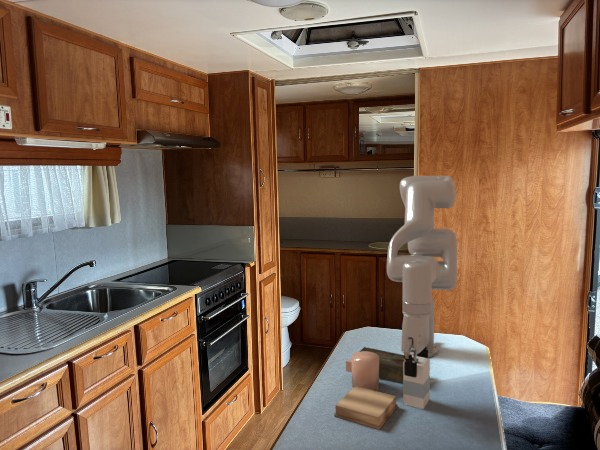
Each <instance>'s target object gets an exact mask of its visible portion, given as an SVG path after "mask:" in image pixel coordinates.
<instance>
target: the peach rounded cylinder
mask: <svg viewBox="0 0 600 450" xmlns="http://www.w3.org/2000/svg"><path fill="white" fill-rule="evenodd" d="M359 351H360V352H359ZM359 351H357V352H354V353H353V354H352V355H351V359H346V360H345V371H346V372H348V373H351V387H352V389H353V388H354V387H355V386H357V387H361V388H365V389H369V390H373V391H378V389H380V378H379V356H378V355H377V354H376V353H373V352H368V351H361V350H359Z"/></svg>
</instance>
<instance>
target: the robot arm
mask: <svg viewBox="0 0 600 450" xmlns="http://www.w3.org/2000/svg"><path fill="white" fill-rule="evenodd" d="M399 193H400V197H401V200H402V202H403V205H404V209H405V210H404V224H403V225H402V226H401V227H400V228H399V229H398V230H397V231H396V232H395V233H394V234H393V235H392V237H391V239H390V241H389V244H388V247H387V258H386V275H387V277H388V279H390V280H391V281H393V282H397V283H402V312H401V313H402V314H403V317H402V318H403V319H402V324H401V328H402V329H401V343H400V351H401V352H402V353H403V355H404V375H406V376H410V377H417V362H416V357H417V356H418V357H423V358H431V357H432V358H433V357H434V356H436V355H438V353H439V346H437V345H436V344H435V301H434V298H433V297H432V296H433V294H432V293H433V292H432V291H434V290H435V291H436V290H437V291H439V290H440V291H451V290H455V288H456V286H457V281H458V241H457V236H456V233H455V232H454V231H453V230H452V229H448V228H435V209H451V208H453V206H454V205H455V202H456V194H457V192H456V185H455V182H454V179H453V178H452V177H451V176H450V175H411V176H407V177H404V178H402V179H401V180H400V182H399ZM405 244H407V249H408V252H409V255H406V254H398V252H399V249H401V248H402V247H403V246H404V245H405ZM436 258H440V259H442V261H438V260H437V259H436ZM412 355H413V357H412Z"/></svg>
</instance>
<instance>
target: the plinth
mask: <svg viewBox="0 0 600 450" xmlns="http://www.w3.org/2000/svg"><path fill="white" fill-rule="evenodd" d="M397 408H398V403H397V396H396V395H393V394H388V393H384V392H380V391H378V390H376V391H373V390H369V389H365V388H361V387H357V386H355V387H354V388H353V387H352V389H350V391H348V392H347V393H346V394H345V395H344V396H343V397H342V398H341V399H340V401H338V402H337V403H336V404H335V412H334V413H333V417H335V418H339V419H342V420H346V421H349V422H353V423H355V424H359V425H362V426H366V427H369V428H372V429H376V430H380V429H381V428H382V427H383V426H384V424H385V423H386V422H387V421H388V419H389V418H390V417H391V415H392V414H393V413H394V412H395V410H396V409H397Z"/></svg>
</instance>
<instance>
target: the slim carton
mask: <svg viewBox="0 0 600 450" xmlns="http://www.w3.org/2000/svg"><path fill="white" fill-rule="evenodd" d="M412 357H413V355H412ZM430 360H431V359H430V357H428V358H423V357H418V356H417V357H416V362H417V377H410V376H406V375H404V362H403V383H402V394H403V395H402V399H403V400H402V403H403V405H405V406H409V407H413V408H417V409H420V410H424V409H425V408H426V406H427V404H428V403H429V401H430V390H431V389H430V387H431V386H430V384H431V383H430V382H431V379H430V378H431V377H430V369H431V367H430V365H431V363H430V362H431V361H430Z"/></svg>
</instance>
